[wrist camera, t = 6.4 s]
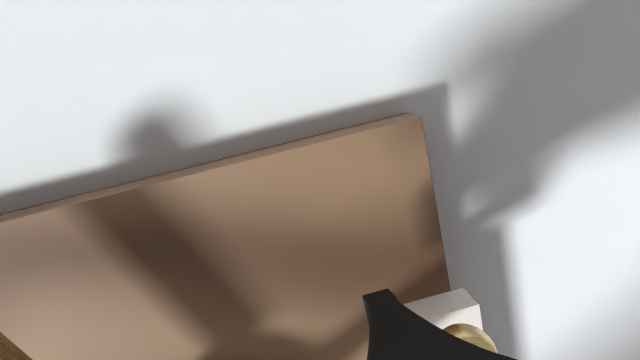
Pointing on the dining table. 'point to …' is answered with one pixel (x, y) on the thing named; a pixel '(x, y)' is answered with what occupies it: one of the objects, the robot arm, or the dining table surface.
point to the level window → (448, 309)
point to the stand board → (230, 254)
